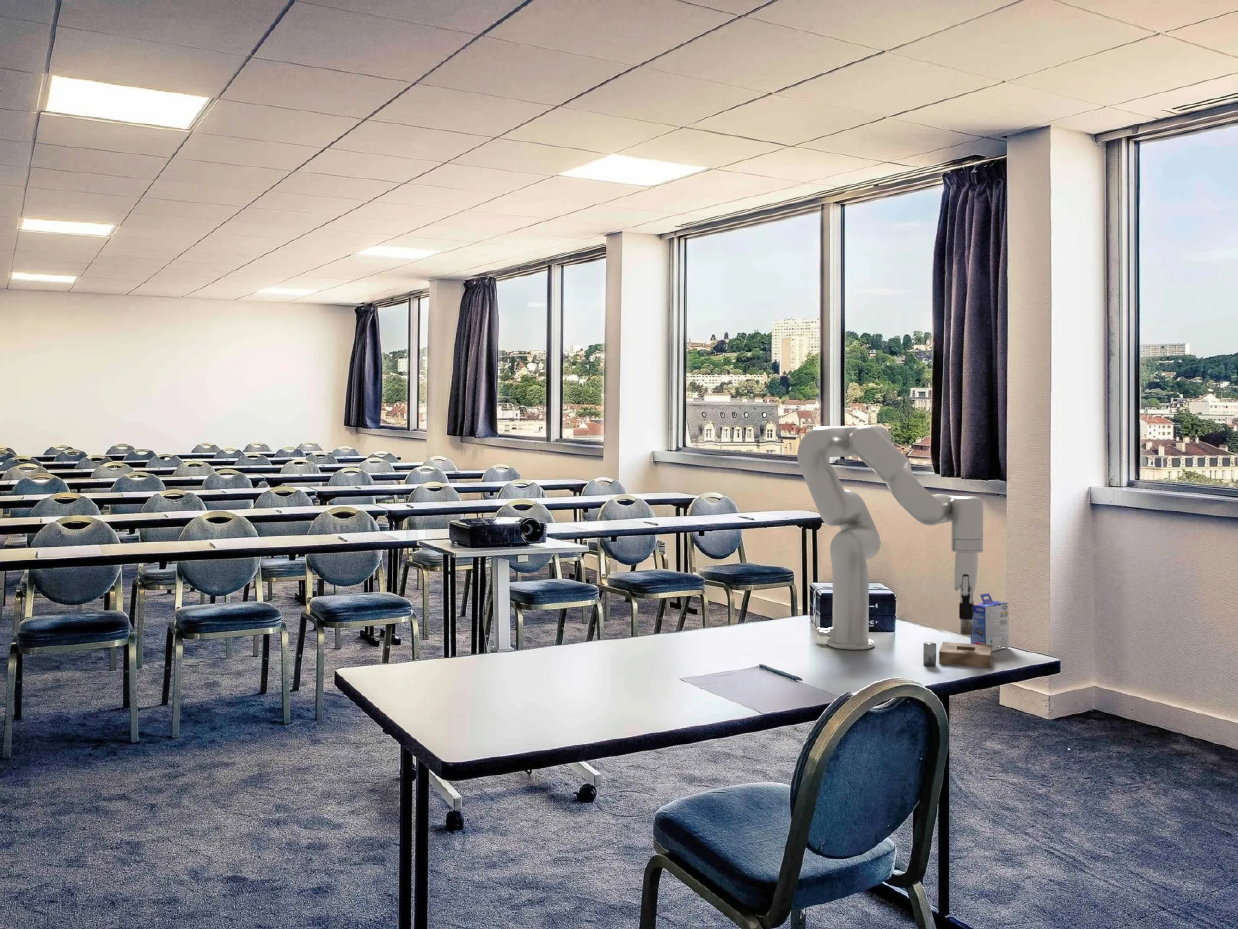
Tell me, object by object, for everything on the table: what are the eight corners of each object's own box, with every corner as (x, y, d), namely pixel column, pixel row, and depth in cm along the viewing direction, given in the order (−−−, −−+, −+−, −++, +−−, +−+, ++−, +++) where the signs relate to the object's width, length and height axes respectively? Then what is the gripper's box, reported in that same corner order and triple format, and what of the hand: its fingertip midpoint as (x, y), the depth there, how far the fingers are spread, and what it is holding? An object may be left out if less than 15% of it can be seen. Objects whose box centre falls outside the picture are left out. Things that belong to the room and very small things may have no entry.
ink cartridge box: (991, 644, 280) (992, 591, 279) (1009, 648, 275) (1010, 594, 275) (968, 649, 274) (969, 595, 274) (986, 653, 270) (987, 598, 269)
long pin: (959, 634, 261) (960, 587, 260) (960, 632, 263) (961, 585, 263) (972, 635, 260) (972, 587, 259) (973, 633, 262) (973, 586, 262)
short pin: (922, 666, 256) (922, 644, 255) (923, 663, 258) (924, 641, 258) (935, 667, 254) (935, 645, 254) (936, 664, 257) (936, 642, 257)
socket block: (939, 663, 258) (939, 651, 258) (942, 653, 270) (943, 641, 269) (990, 667, 254) (990, 655, 254) (991, 657, 265) (991, 645, 265)
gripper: (953, 541, 270) (953, 611, 270) (949, 548, 254) (948, 622, 255) (984, 542, 267) (983, 613, 268) (981, 549, 252) (980, 625, 252)
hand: (966, 617), depth 261 cm, fingers closed on long pin, 3 cm apart
